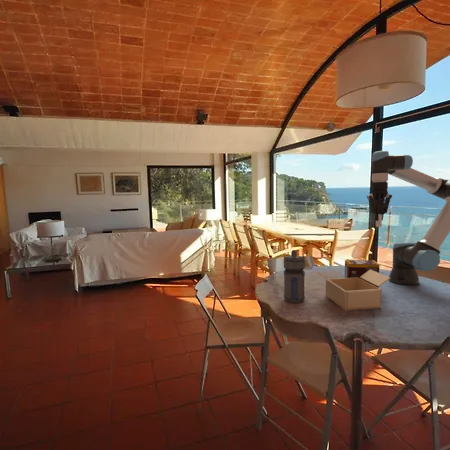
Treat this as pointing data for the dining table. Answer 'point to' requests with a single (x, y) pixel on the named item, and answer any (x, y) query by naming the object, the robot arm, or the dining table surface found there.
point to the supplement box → (360, 268)
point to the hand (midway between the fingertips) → (378, 226)
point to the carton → (353, 294)
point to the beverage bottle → (294, 278)
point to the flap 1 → (329, 280)
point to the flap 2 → (375, 278)
